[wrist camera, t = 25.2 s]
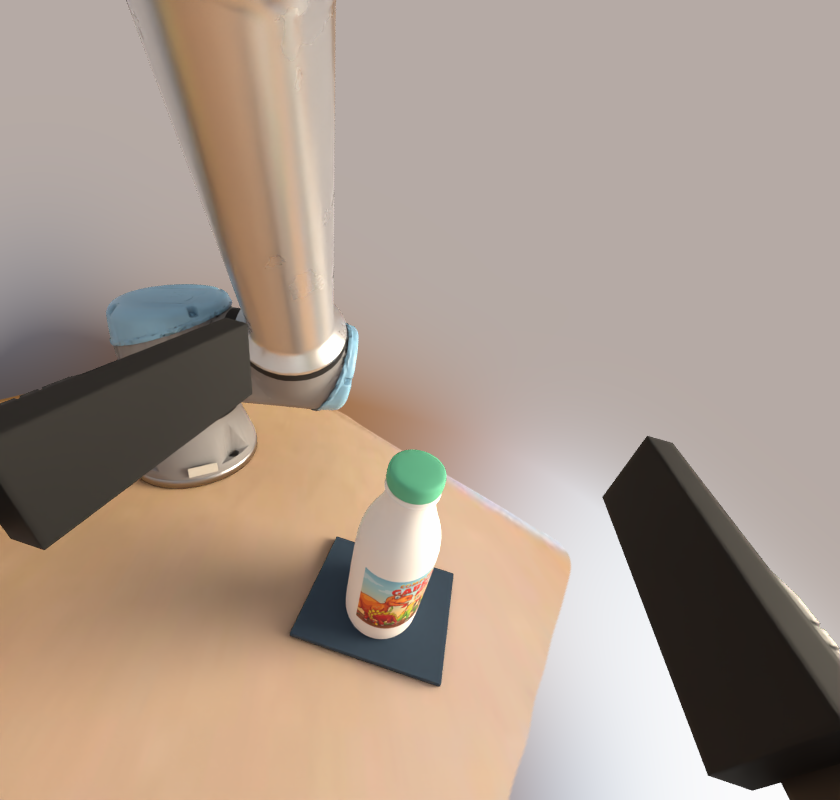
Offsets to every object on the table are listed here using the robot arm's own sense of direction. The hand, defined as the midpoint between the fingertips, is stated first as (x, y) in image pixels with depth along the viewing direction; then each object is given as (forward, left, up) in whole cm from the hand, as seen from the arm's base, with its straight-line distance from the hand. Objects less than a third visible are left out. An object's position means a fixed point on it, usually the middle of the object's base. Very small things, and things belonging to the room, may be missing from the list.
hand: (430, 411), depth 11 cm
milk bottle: (-8, +6, -32) cm, 33 cm away
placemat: (-8, +6, -32) cm, 33 cm away
